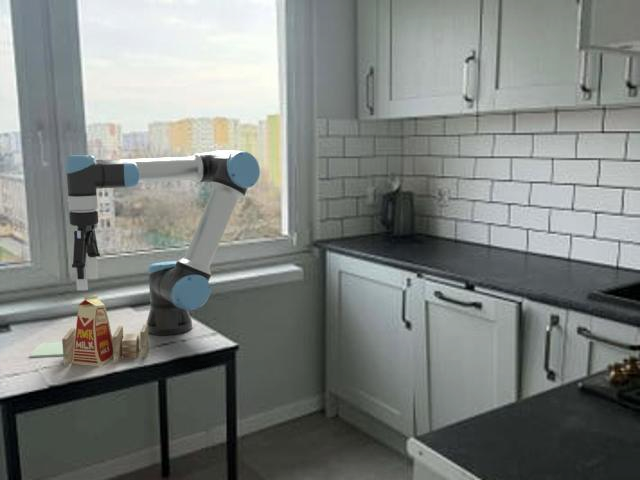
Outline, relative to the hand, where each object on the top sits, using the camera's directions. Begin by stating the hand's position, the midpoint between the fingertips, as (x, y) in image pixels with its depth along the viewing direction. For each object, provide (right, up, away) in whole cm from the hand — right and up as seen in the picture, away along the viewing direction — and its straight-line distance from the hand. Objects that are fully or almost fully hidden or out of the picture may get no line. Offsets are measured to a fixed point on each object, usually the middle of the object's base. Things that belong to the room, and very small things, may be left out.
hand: (88, 284), depth 172 cm
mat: (-15, -21, +12) cm, 28 cm away
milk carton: (0, -23, +4) cm, 23 cm away
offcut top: (+10, -18, +7) cm, 22 cm away
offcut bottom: (+10, -22, +8) cm, 26 cm away
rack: (+4, -22, +6) cm, 23 cm away
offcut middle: (+10, -20, +8) cm, 24 cm away
